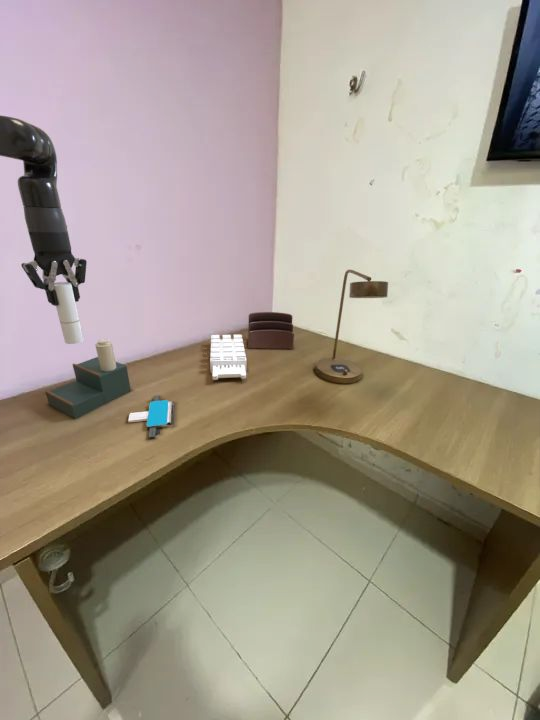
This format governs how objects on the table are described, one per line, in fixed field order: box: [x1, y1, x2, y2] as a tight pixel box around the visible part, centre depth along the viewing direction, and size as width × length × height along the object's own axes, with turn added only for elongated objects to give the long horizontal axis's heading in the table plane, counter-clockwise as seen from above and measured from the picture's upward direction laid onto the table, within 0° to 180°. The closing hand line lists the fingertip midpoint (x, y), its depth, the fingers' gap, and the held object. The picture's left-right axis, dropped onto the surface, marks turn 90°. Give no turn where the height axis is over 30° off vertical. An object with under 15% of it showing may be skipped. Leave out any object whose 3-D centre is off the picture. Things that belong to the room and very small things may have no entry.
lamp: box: [315, 269, 389, 385], centre depth 105 cm, size 17×27×38 cm, turn 8°
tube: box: [54, 281, 85, 345], centre depth 79 cm, size 4×4×15 cm
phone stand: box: [127, 395, 175, 440], centre depth 87 cm, size 20×12×2 cm, turn 15°
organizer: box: [209, 334, 248, 381], centre depth 121 cm, size 13×5×35 cm
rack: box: [44, 356, 132, 419], centre depth 93 cm, size 13×18×10 cm
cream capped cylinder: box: [95, 338, 117, 371], centre depth 92 cm, size 4×4×9 cm
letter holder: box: [247, 311, 295, 350], centre depth 137 cm, size 10×20×14 cm, turn 93°
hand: (65, 302), depth 78 cm, fingers closed on tube, 4 cm apart
